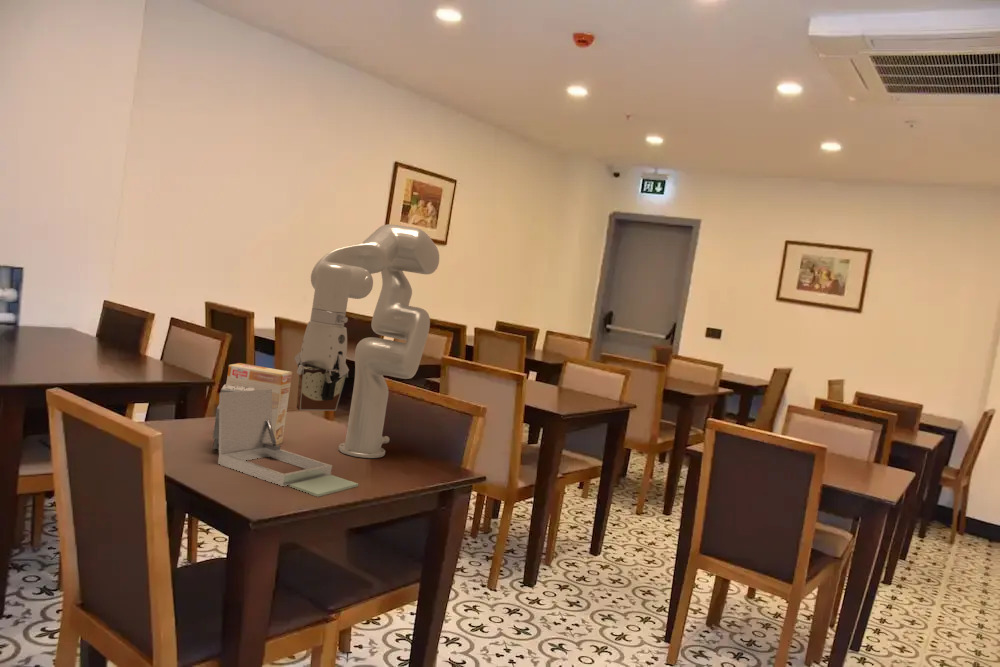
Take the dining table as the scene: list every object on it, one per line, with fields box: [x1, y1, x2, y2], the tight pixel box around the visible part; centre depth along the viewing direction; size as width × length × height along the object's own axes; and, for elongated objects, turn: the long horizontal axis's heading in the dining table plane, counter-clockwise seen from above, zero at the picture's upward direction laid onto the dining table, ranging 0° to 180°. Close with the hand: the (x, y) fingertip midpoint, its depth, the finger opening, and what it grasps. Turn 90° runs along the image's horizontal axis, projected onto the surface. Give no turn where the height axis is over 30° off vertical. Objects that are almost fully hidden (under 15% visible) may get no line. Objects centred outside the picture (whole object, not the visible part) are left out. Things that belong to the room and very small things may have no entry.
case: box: [217, 389, 333, 487], centre depth 176 cm, size 16×23×16 cm
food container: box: [296, 362, 349, 412], centre depth 171 cm, size 12×6×10 cm, turn 134°
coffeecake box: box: [225, 362, 293, 445], centre depth 199 cm, size 15×7×20 cm, turn 84°
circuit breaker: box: [212, 383, 255, 451], centre depth 186 cm, size 8×14×15 cm, turn 15°
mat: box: [289, 474, 359, 498], centre depth 169 cm, size 14×8×1 cm, turn 153°
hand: (316, 396), depth 170 cm, fingers closed on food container, 6 cm apart
